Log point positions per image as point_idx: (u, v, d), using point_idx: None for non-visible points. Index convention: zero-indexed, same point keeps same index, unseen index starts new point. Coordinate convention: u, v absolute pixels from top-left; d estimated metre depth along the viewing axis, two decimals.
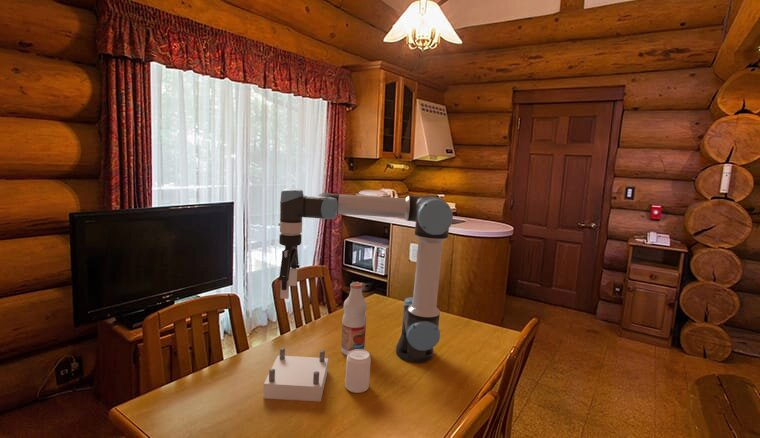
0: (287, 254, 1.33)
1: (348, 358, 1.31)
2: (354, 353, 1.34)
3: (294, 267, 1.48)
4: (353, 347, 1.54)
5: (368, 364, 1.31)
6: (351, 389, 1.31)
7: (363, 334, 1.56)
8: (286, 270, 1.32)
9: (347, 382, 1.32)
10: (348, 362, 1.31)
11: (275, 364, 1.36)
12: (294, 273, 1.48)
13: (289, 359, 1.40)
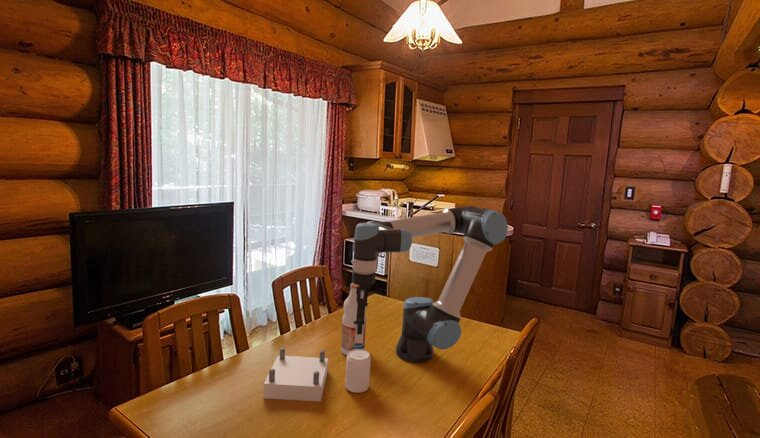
0: (364, 295, 1.22)
1: (348, 358, 1.31)
2: (354, 353, 1.34)
3: None
4: (353, 347, 1.54)
5: (368, 364, 1.31)
6: (351, 389, 1.31)
7: None
8: (363, 313, 1.21)
9: (347, 382, 1.32)
10: (348, 362, 1.31)
11: (275, 364, 1.36)
12: None
13: (289, 359, 1.40)
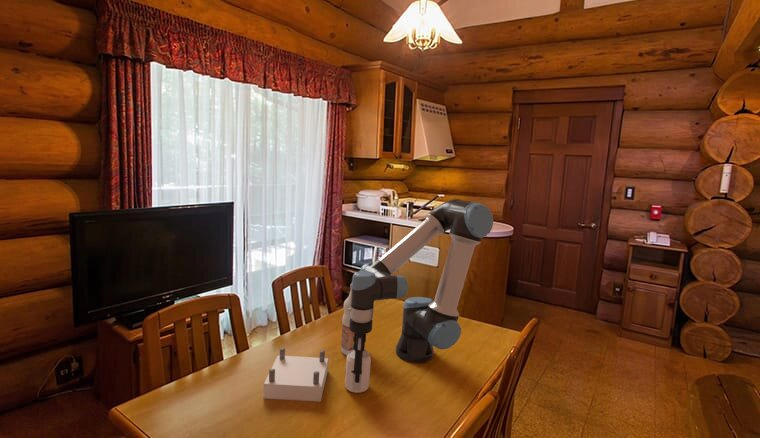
0: (361, 348, 1.25)
1: (348, 358, 1.31)
2: (354, 353, 1.34)
3: None
4: (353, 347, 1.54)
5: (368, 364, 1.31)
6: (351, 389, 1.31)
7: None
8: (360, 364, 1.26)
9: (347, 382, 1.32)
10: (348, 362, 1.31)
11: (275, 364, 1.36)
12: None
13: (289, 359, 1.40)
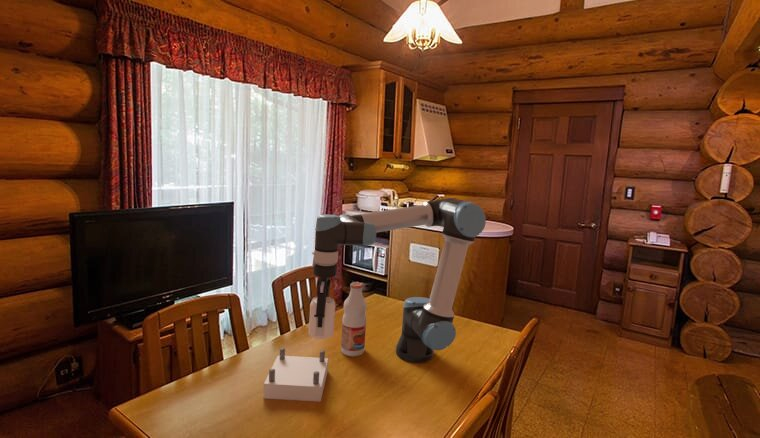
0: (323, 290, 1.22)
1: (312, 303, 1.28)
2: None
3: None
4: (353, 347, 1.54)
5: (332, 309, 1.28)
6: (314, 335, 1.27)
7: (363, 334, 1.56)
8: (323, 307, 1.22)
9: (310, 328, 1.28)
10: (311, 307, 1.27)
11: (275, 364, 1.36)
12: None
13: (289, 359, 1.40)
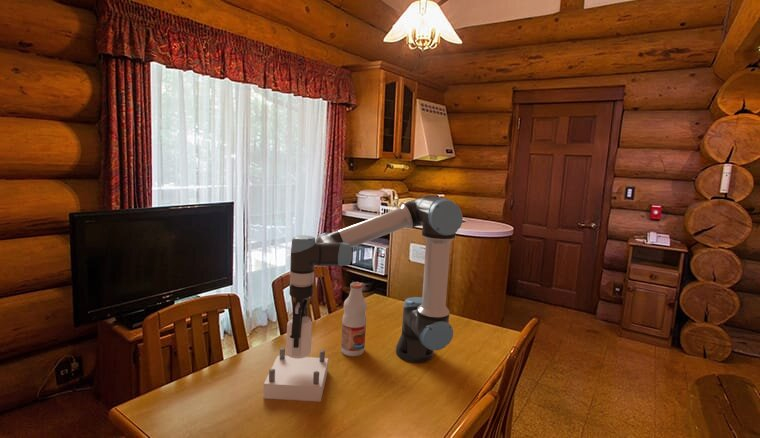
0: (298, 311, 1.23)
1: (288, 323, 1.29)
2: None
3: None
4: (353, 347, 1.54)
5: (308, 329, 1.29)
6: (291, 355, 1.29)
7: (363, 334, 1.56)
8: (298, 328, 1.24)
9: (287, 348, 1.30)
10: (288, 327, 1.29)
11: (275, 364, 1.36)
12: None
13: (289, 359, 1.40)
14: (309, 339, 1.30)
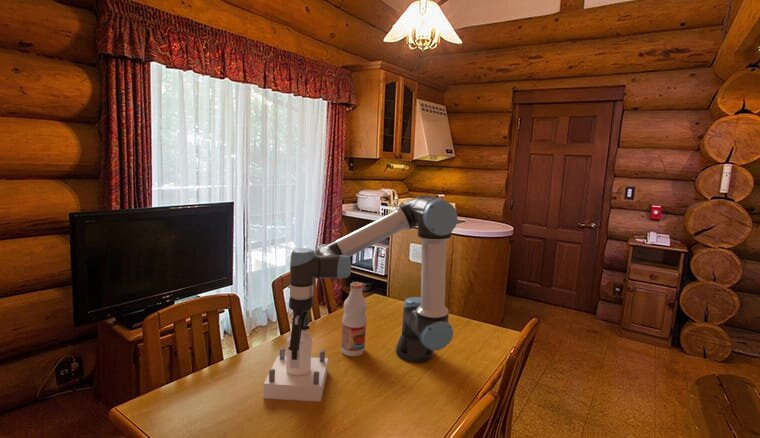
0: (298, 322, 1.24)
1: (288, 340, 1.30)
2: None
3: (304, 328, 1.39)
4: (353, 347, 1.54)
5: (308, 346, 1.30)
6: (291, 371, 1.30)
7: (363, 334, 1.56)
8: (297, 339, 1.23)
9: (287, 364, 1.31)
10: (288, 344, 1.30)
11: (275, 364, 1.36)
12: None
13: None
14: (309, 355, 1.31)
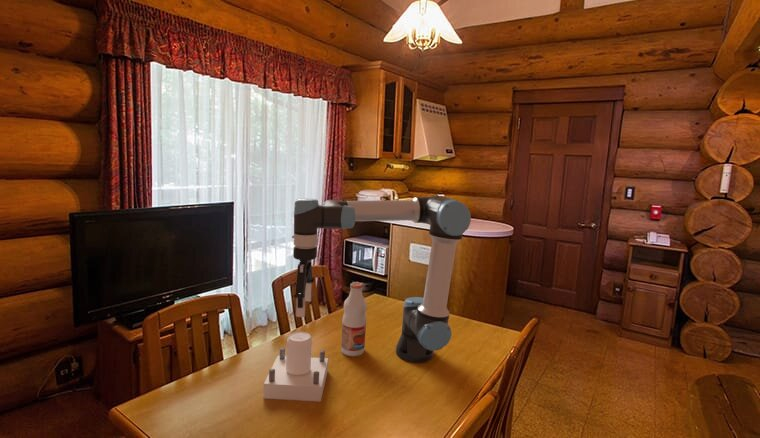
0: (303, 269, 1.23)
1: (288, 340, 1.30)
2: (295, 335, 1.33)
3: (308, 281, 1.39)
4: (353, 347, 1.54)
5: (308, 346, 1.30)
6: (291, 371, 1.30)
7: (363, 334, 1.56)
8: (302, 287, 1.22)
9: (287, 364, 1.31)
10: (288, 344, 1.30)
11: (275, 364, 1.36)
12: (308, 288, 1.38)
13: None
14: (309, 355, 1.31)
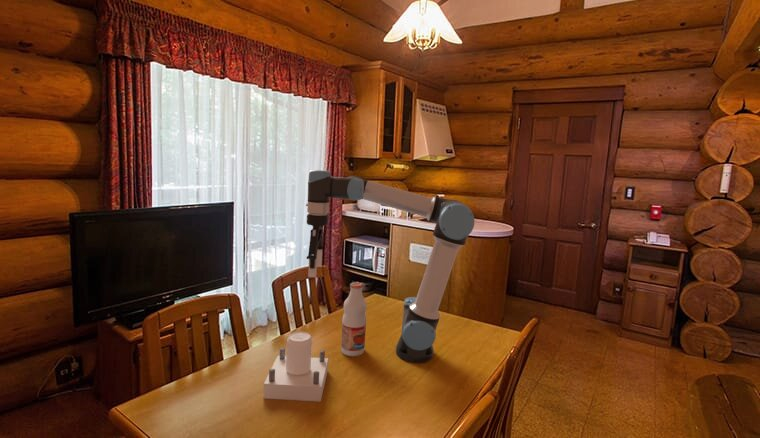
0: (315, 233, 1.36)
1: (288, 340, 1.30)
2: (295, 335, 1.33)
3: (319, 248, 1.51)
4: (353, 347, 1.54)
5: (308, 346, 1.30)
6: (291, 371, 1.30)
7: (363, 334, 1.56)
8: (315, 249, 1.34)
9: (287, 364, 1.31)
10: (288, 344, 1.30)
11: (275, 364, 1.36)
12: (319, 254, 1.50)
13: None
14: (309, 355, 1.31)
